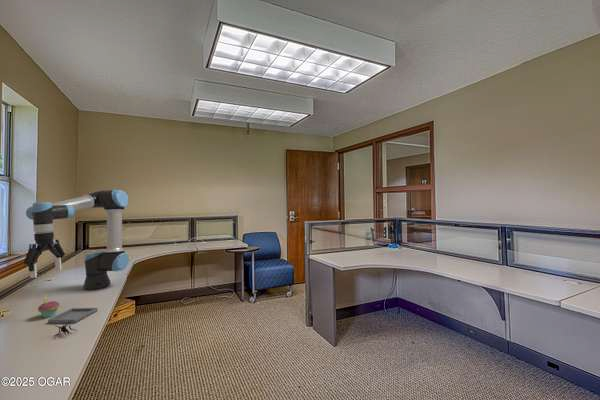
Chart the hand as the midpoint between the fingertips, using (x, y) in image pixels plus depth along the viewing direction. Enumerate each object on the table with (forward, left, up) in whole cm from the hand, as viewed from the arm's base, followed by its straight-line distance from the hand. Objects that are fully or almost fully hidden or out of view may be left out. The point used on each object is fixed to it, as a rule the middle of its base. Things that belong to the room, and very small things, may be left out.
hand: (46, 273), depth 149 cm
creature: (+20, +27, -22) cm, 41 cm away
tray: (+2, +15, -22) cm, 27 cm away
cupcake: (0, 0, -22) cm, 22 cm away
